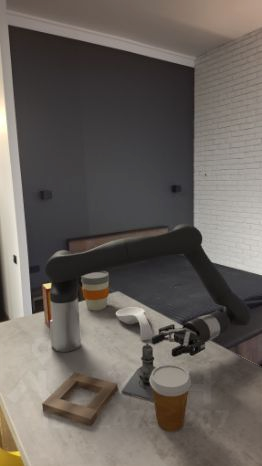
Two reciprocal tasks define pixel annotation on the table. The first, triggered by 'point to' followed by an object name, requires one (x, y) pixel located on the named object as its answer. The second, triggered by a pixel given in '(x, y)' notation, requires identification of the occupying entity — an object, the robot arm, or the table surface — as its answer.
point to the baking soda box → (47, 302)
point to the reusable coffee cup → (95, 289)
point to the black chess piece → (146, 367)
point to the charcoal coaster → (137, 388)
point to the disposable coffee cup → (170, 395)
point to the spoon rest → (136, 320)
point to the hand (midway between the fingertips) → (162, 347)
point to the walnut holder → (75, 411)
